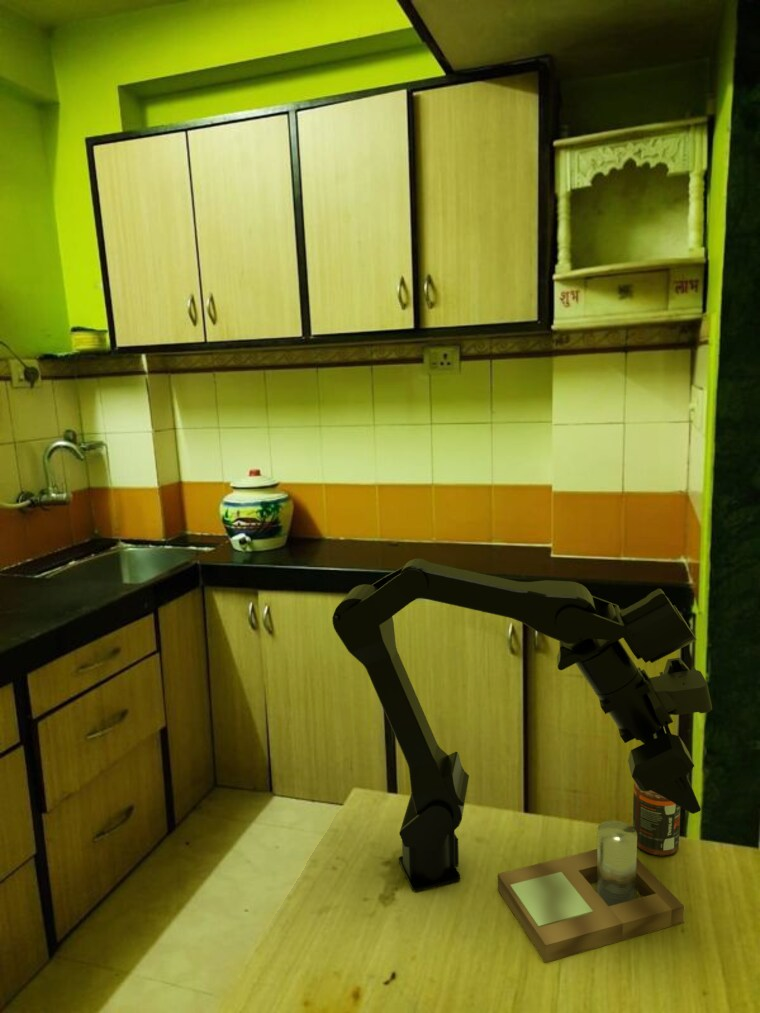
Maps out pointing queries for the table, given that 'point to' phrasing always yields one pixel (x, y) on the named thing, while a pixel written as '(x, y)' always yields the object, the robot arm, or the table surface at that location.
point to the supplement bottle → (655, 822)
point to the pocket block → (582, 906)
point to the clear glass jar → (616, 862)
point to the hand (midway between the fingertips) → (688, 788)
